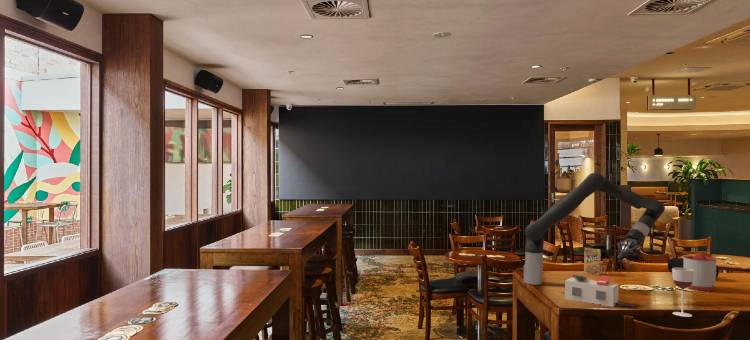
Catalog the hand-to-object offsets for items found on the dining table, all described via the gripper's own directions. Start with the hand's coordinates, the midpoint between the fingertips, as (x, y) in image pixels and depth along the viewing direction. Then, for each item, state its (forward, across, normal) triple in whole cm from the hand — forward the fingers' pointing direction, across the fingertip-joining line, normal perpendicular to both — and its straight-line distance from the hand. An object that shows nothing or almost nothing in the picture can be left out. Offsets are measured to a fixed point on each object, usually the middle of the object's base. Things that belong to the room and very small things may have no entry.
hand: (619, 259), depth 255 cm
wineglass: (+10, +29, +18) cm, 36 cm away
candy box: (-12, -53, +40) cm, 68 cm away
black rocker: (+20, -7, -5) cm, 22 cm away
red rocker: (+16, +2, -1) cm, 16 cm away
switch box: (+23, +1, +5) cm, 24 cm away
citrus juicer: (-31, -3, +59) cm, 66 cm away
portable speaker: (-50, -27, +78) cm, 97 cm away
